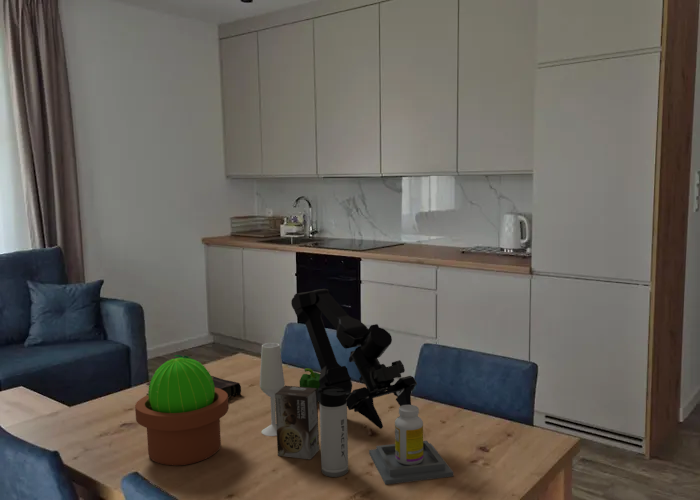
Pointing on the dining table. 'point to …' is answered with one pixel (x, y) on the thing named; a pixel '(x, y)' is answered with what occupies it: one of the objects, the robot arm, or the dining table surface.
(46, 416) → the dining table surface
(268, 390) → the champagne flute
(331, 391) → the travel mug
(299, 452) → the cookie box
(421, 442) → the supplement bottle
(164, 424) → the potted cactus
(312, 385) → the bell pepper
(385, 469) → the holder board
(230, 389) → the diary
